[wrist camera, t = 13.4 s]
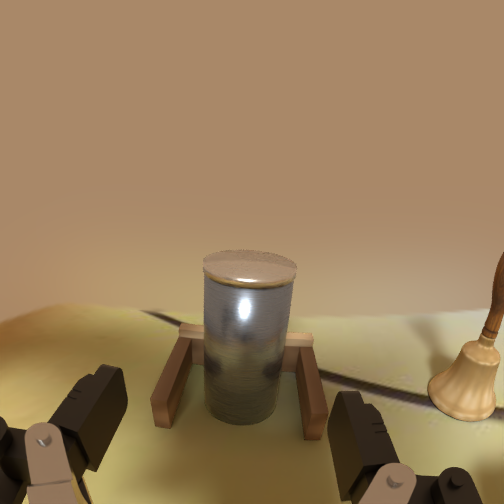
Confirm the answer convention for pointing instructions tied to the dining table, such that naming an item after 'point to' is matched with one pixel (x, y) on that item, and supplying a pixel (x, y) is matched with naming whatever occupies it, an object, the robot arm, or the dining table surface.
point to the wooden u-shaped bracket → (294, 360)
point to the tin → (245, 332)
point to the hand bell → (473, 367)
